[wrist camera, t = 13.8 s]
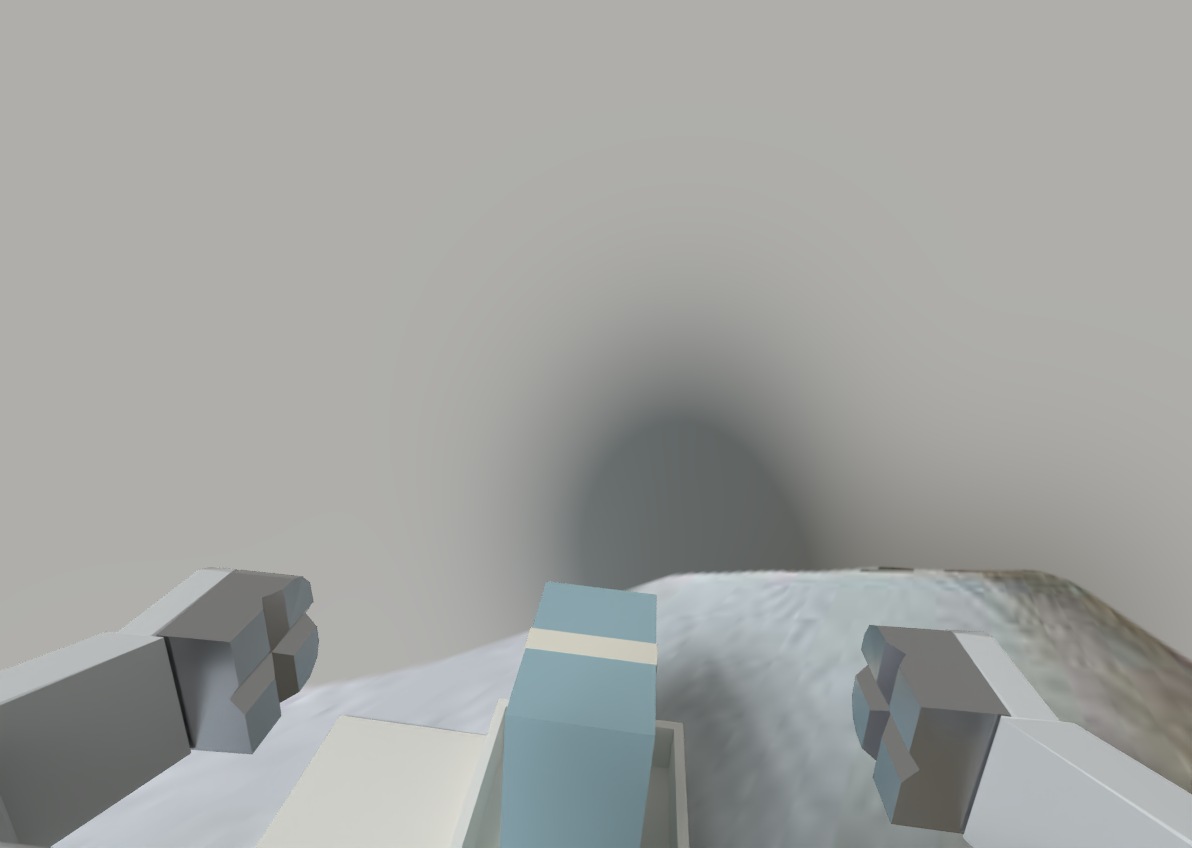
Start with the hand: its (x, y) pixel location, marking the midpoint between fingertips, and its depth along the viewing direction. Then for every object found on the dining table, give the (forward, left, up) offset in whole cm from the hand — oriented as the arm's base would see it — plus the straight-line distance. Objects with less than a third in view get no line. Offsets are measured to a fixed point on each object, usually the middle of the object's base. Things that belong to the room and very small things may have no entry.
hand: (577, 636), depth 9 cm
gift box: (0, -13, -22) cm, 25 cm away
